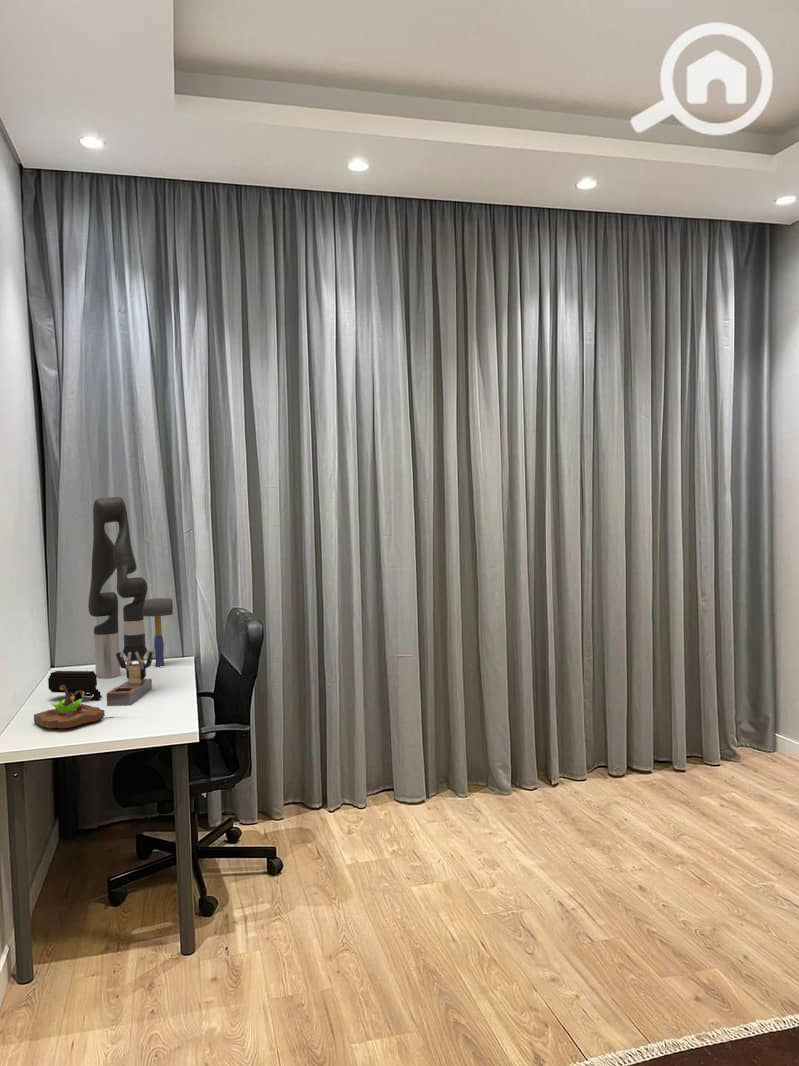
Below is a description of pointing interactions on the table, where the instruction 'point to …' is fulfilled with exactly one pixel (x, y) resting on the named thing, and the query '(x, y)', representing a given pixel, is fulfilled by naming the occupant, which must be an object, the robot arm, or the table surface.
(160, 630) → the rubber mallet
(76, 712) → the plant
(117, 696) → the rail
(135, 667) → the brown upright block
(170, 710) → the table surface
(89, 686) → the security camera
